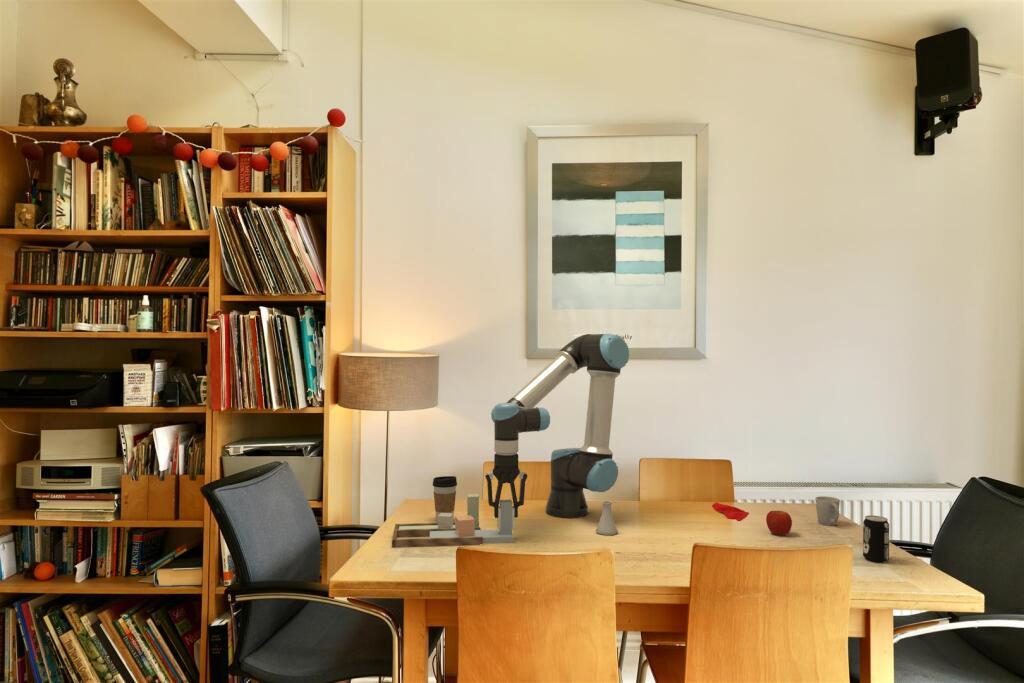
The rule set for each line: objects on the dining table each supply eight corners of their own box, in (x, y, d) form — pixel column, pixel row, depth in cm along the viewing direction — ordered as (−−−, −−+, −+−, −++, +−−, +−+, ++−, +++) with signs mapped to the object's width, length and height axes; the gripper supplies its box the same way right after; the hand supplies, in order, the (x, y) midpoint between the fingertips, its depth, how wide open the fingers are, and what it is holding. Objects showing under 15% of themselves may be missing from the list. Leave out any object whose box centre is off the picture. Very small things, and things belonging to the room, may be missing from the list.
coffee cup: (453, 524, 228) (453, 480, 228) (429, 523, 230) (429, 479, 230) (459, 518, 236) (460, 475, 236) (436, 517, 238) (436, 474, 238)
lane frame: (478, 529, 223) (478, 521, 223) (482, 545, 206) (482, 537, 206) (395, 531, 220) (395, 523, 220) (392, 548, 202) (392, 540, 202)
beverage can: (858, 556, 197) (858, 515, 197) (879, 555, 198) (880, 514, 198) (872, 563, 191) (872, 521, 191) (894, 563, 191) (894, 520, 191)
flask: (620, 530, 222) (620, 500, 222) (615, 536, 215) (616, 505, 215) (598, 528, 225) (598, 498, 225) (593, 534, 218) (593, 503, 218)
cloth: (756, 524, 233) (756, 518, 233) (714, 522, 235) (714, 516, 235) (744, 506, 259) (744, 500, 259) (706, 504, 261) (706, 498, 261)
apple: (780, 539, 214) (780, 514, 214) (760, 532, 221) (760, 508, 221) (797, 535, 218) (797, 511, 218) (777, 529, 225) (777, 506, 225)
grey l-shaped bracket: (478, 529, 222) (478, 493, 222) (479, 534, 217) (479, 497, 217) (399, 531, 219) (399, 495, 219) (398, 536, 214) (398, 498, 214)
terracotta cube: (470, 531, 214) (470, 515, 214) (474, 535, 209) (474, 519, 209) (455, 532, 212) (455, 516, 212) (458, 536, 207) (458, 520, 207)
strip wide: (510, 534, 216) (510, 497, 216) (513, 542, 208) (514, 504, 208) (429, 536, 213) (429, 499, 213) (429, 545, 205) (429, 506, 205)
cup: (831, 520, 236) (831, 496, 236) (848, 528, 226) (848, 503, 226) (810, 520, 236) (810, 496, 236) (826, 529, 226) (827, 503, 226)
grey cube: (453, 525, 220) (453, 513, 220) (450, 529, 216) (450, 516, 216) (441, 525, 220) (441, 512, 220) (437, 528, 216) (437, 516, 216)
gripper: (531, 450, 217) (530, 524, 217) (478, 451, 215) (478, 525, 215) (534, 454, 209) (533, 530, 209) (480, 455, 207) (480, 532, 207)
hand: (505, 527), depth 212 cm, fingers closed on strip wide, 3 cm apart
